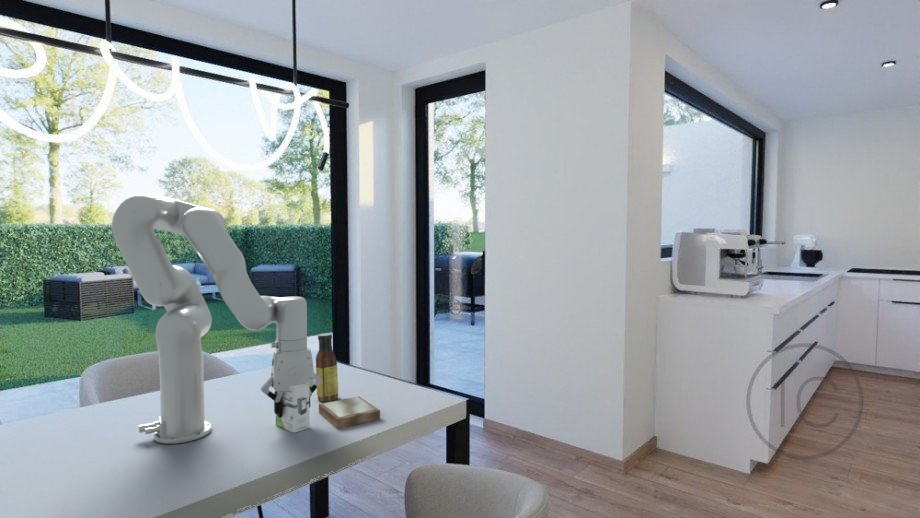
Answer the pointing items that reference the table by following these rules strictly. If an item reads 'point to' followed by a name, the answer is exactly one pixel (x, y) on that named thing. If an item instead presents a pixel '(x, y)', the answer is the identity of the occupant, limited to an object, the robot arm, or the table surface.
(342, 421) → the wooden tray
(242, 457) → the table surface
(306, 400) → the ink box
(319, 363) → the sauce bottle
